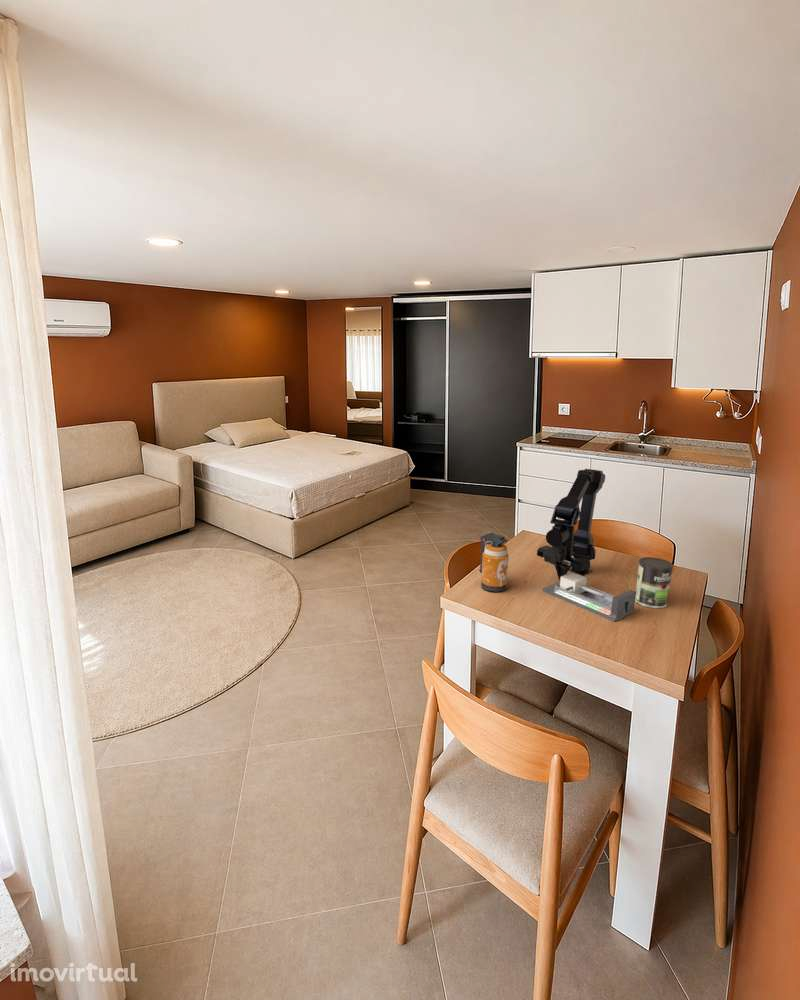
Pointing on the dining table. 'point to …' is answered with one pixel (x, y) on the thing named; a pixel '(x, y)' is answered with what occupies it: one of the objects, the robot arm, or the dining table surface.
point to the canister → (494, 562)
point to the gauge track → (597, 601)
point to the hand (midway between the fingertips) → (560, 580)
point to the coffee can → (653, 582)
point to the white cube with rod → (577, 584)
